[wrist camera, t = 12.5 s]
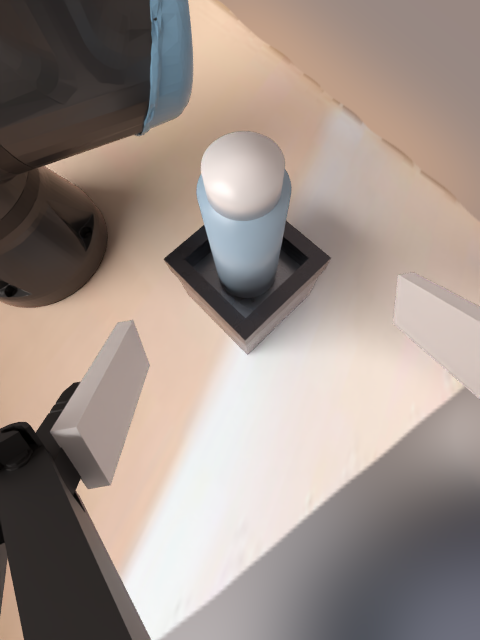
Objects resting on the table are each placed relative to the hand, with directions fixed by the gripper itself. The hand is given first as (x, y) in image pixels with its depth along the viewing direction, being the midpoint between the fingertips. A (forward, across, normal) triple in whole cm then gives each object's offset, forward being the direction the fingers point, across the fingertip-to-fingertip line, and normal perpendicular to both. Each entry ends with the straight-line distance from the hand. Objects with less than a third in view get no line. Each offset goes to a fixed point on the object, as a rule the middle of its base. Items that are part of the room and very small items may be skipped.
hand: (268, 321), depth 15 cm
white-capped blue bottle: (+11, 0, -1) cm, 11 cm away
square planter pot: (+16, 0, -5) cm, 16 cm away
